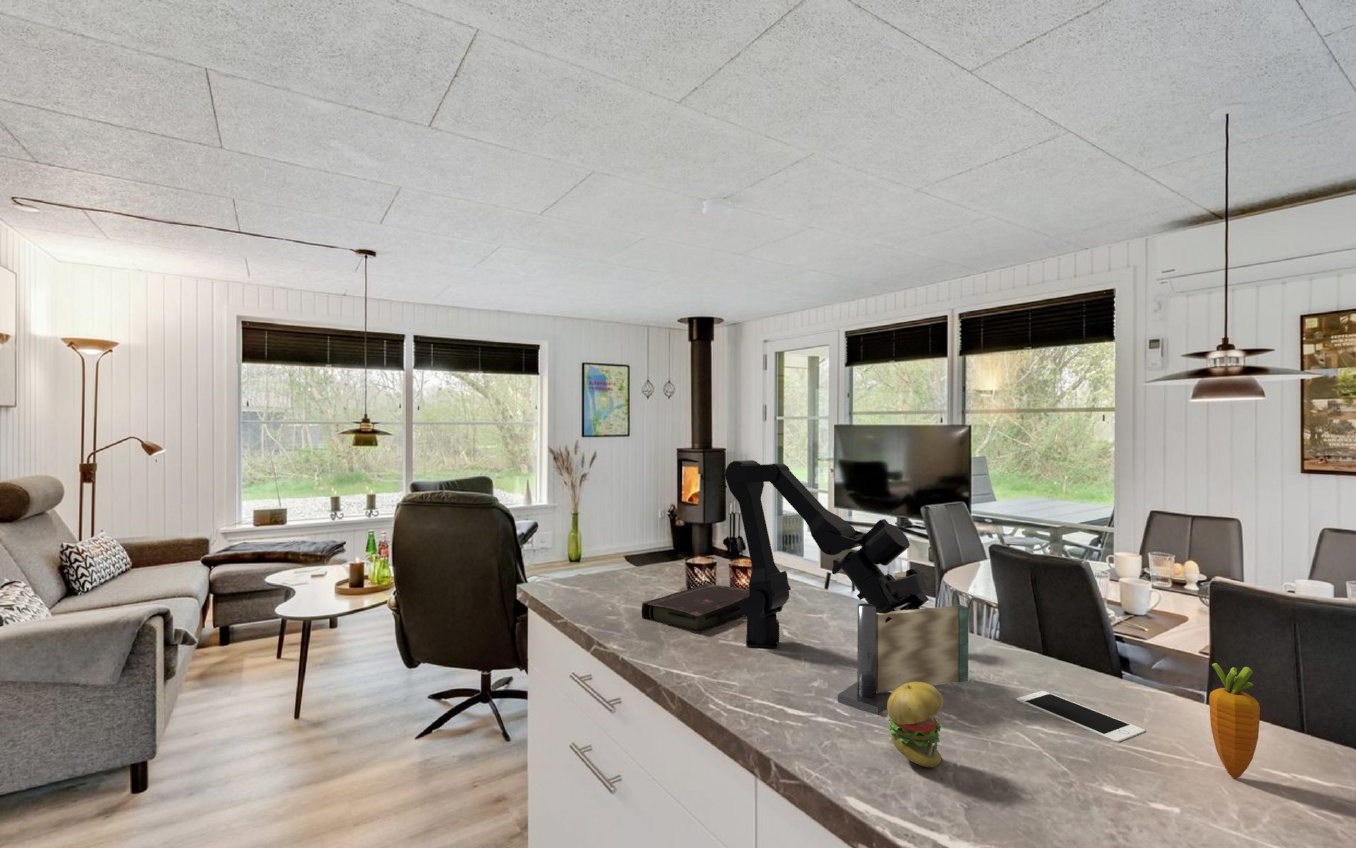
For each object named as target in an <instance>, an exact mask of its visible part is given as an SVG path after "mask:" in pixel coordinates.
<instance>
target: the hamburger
mask: <svg viewBox="0 0 1356 848" xmlns="http://www.w3.org/2000/svg"><path fill="white" fill-rule="evenodd" d="M899 675H900V673H899ZM900 678H901V676H900ZM901 681H902V679H901ZM902 683H903V682H902ZM943 703H944V699H943V695H942V694H941V693H940V691H938V688H936V687H935V686H934V685H930V684H927V683H924V682H910V683H906V684H903V685H901V686H900V687H898V688H897V689H895V690H894V691H892V694H891V695H890V697H889V699H888V702H887V708H886V709H887V714H888V719H887V721H888V722H890V724H889V728H888V732H889V733H890V737H891V741H892V744H893V745H894V747H895V748H896V749H897V751H898V752H899V753H900V754H901V755H903V756H904V757H905V758H906V759H907V760H909V761H910V762H913V763H914V764H917V766H922V767H925V768H934V767H936V766H938V765H939V763H940V762H941V759H942V754H941V753H940V751H938V743H940V734H939V732H940V731H941V729H942V724H941V723H940V722H938V720H937V719H936V718H935V717H934V716H935V715H936V716H939V712H940V710H941V709H942V706H943Z"/></svg>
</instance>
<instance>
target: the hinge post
mask: <svg viewBox="0 0 1356 848" xmlns="http://www.w3.org/2000/svg"><path fill="white" fill-rule="evenodd" d="M856 652H857V665H856V666H857V670H856V671H857V673H856V674H857V680H856V682H854V683H853V684H851V685H850V686H848V687H847V688H846V689H843V691H841V692H840V693H838V694H837V702H838V703H840V704H843V705H846V706H850V707H853V708H856V709H859V710H862V711H865V712H868V713H871V712H872V714H875V715H879V714H881V713H882V712H883V711H884V710H885V709H887V702H888V699H889V697H890V695H891V694H892V692H893V691H892V692H891V691H886V692H876V606H875V605H872V604H868V603H867V602H866V603H865V602H864V603H859V604H857V651H856Z"/></svg>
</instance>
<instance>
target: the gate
mask: <svg viewBox="0 0 1356 848" xmlns="http://www.w3.org/2000/svg"><path fill="white" fill-rule="evenodd" d="M888 617H890V618H892V619H891V620H890V621H888V622H887V623H885V619H887V618H888ZM899 673H900V675H899ZM900 676H901V678H900ZM901 679H902V681H901ZM902 682H903V683H902ZM910 682H924V683H927V684H930V685H932V686H937V685H946V684H953V683H960V684H961V683H966V682H969V607H967V606H965V605H963V604H957V605H956V604H954V605H952V606H951V605H950V606H939V607H938V606H937V607H927V608H920V609H915V610H903V611H892V612H889V613H887V614H883V613H876V692H886V691H888V692H891V691H892V692H893V691H894V690H895V689H897V688H898V687H900V686H901V685H903V684H906V683H910Z"/></svg>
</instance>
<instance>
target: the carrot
mask: <svg viewBox="0 0 1356 848" xmlns="http://www.w3.org/2000/svg"><path fill="white" fill-rule="evenodd" d="M1211 666H1212V668H1213V669H1214V671H1216V674H1217V675H1218V677H1219V678H1220V681H1221V682H1222V684H1223V686H1224V687H1220V688H1219V687H1218V688H1216V689H1214V690H1212V691H1210V693H1209V698H1208V699H1209V701H1208V702H1209V716H1210V720H1209V721H1210V729H1211V732H1212V733H1211V734H1212V738H1213V742H1214V746H1215V750H1216V752H1217V755H1218V757H1219V760H1220V761H1221V763H1222V765H1223V767H1224V769H1225V771H1226V772H1227V773H1228V775H1229V776H1230V777H1231V778H1232V779H1234V780H1236V779H1238V778H1241V776H1242V775H1243V774H1244V773H1245V772H1246V770H1247V769H1249V766H1250V764H1251V763H1252V761H1253V758H1254V755H1255V752H1256V749H1257V744H1258V740H1259V733H1260V732H1259V731H1260V718H1261V717H1260V716H1261V715H1260V714H1261V713H1260V711H1261V707H1260V703H1259V701H1258V700H1256V698H1254V697H1253V696H1251V695H1250V694H1249V693H1247V692H1245V690H1247V689H1250V688H1251V687H1253V686H1254V684H1253V682H1250V681H1248V680H1249V678H1250V677H1251V675H1252V674H1253V673H1254V672H1253V670H1252V669H1251V668H1250V667H1249V666H1244V667H1242V669H1241V671H1240V672H1239V673H1238V671H1237V670H1238V668H1236V667H1233V666H1232V667H1231V668H1230V671H1229V672H1228V674H1227V675H1226V674H1225V672H1224V671H1223V669H1222V668H1221V666H1220V665H1219V663H1217V662H1215V663H1212V664H1211ZM1237 674H1238V675H1237Z"/></svg>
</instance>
